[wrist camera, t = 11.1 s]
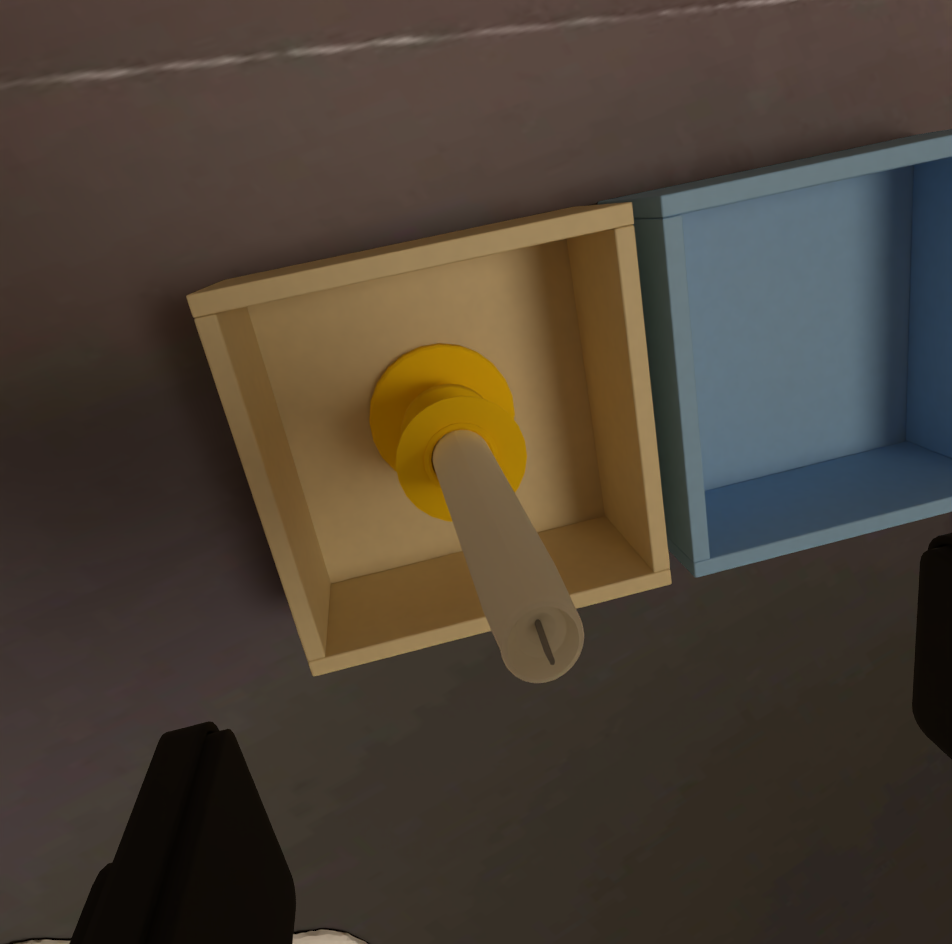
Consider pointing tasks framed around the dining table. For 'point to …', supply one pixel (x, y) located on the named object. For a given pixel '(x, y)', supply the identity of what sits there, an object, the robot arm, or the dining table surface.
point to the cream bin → (374, 481)
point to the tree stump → (320, 940)
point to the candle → (478, 496)
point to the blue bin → (800, 349)
